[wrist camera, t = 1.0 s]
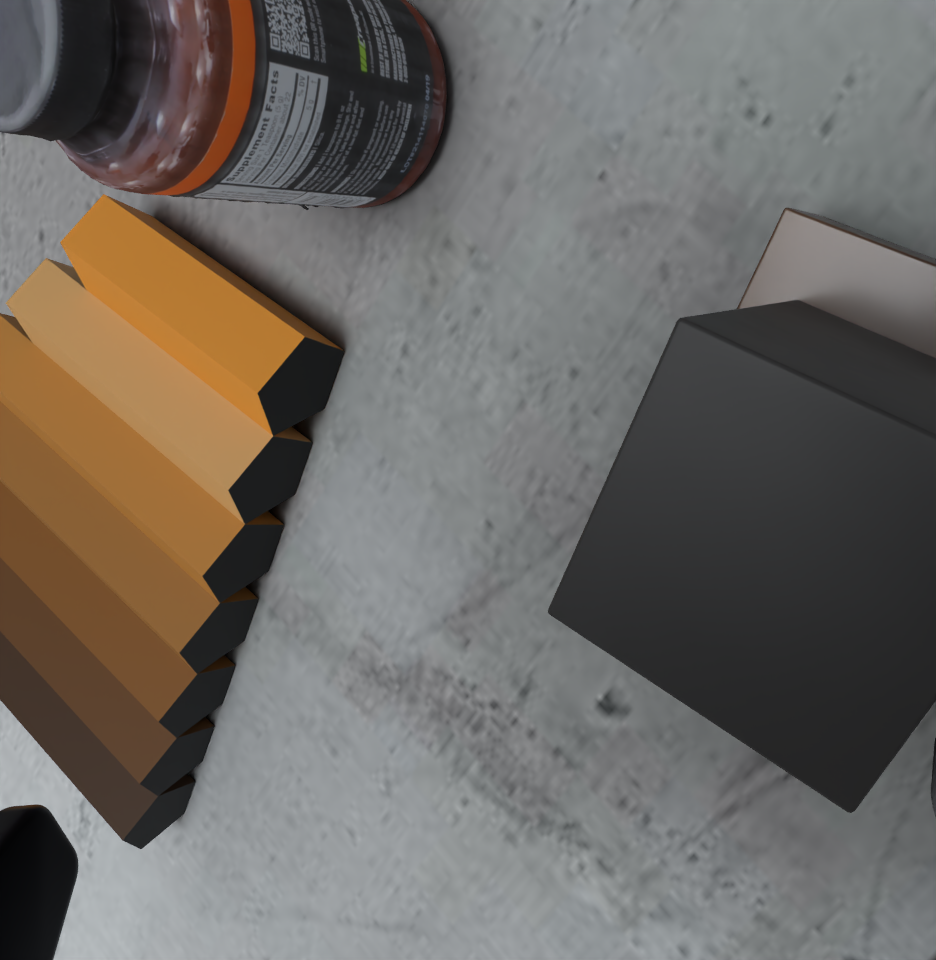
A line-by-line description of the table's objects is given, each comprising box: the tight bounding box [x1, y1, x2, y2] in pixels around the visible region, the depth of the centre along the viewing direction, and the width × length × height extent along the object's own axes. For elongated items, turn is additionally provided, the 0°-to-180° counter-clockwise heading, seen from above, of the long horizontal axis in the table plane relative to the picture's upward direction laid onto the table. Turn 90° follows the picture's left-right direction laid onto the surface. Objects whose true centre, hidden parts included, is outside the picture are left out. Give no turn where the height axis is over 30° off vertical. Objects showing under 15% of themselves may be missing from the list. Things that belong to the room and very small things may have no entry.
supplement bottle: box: [0, 0, 447, 210], centre depth 20 cm, size 6×6×11 cm
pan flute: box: [0, 194, 344, 849], centre depth 36 cm, size 25×3×25 cm
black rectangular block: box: [548, 300, 936, 813], centre depth 14 cm, size 5×5×7 cm
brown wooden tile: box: [737, 208, 936, 358], centre depth 18 cm, size 7×8×3 cm
